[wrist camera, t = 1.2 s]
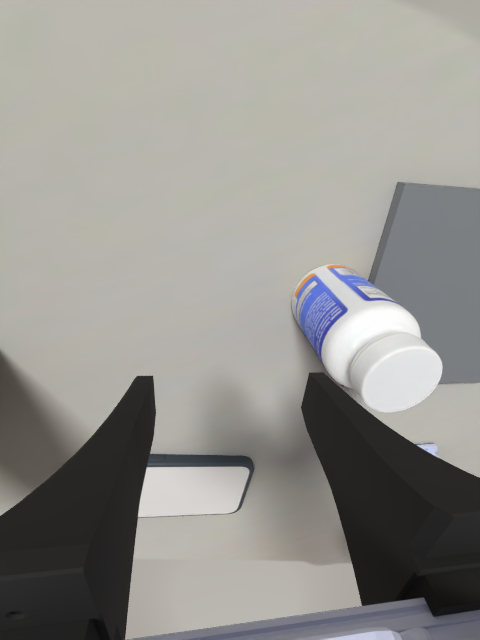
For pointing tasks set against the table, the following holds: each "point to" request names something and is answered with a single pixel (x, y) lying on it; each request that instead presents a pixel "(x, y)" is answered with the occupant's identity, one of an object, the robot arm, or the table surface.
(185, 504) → the smartphone
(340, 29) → the table surface
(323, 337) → the pill bottle
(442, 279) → the rubber mat
